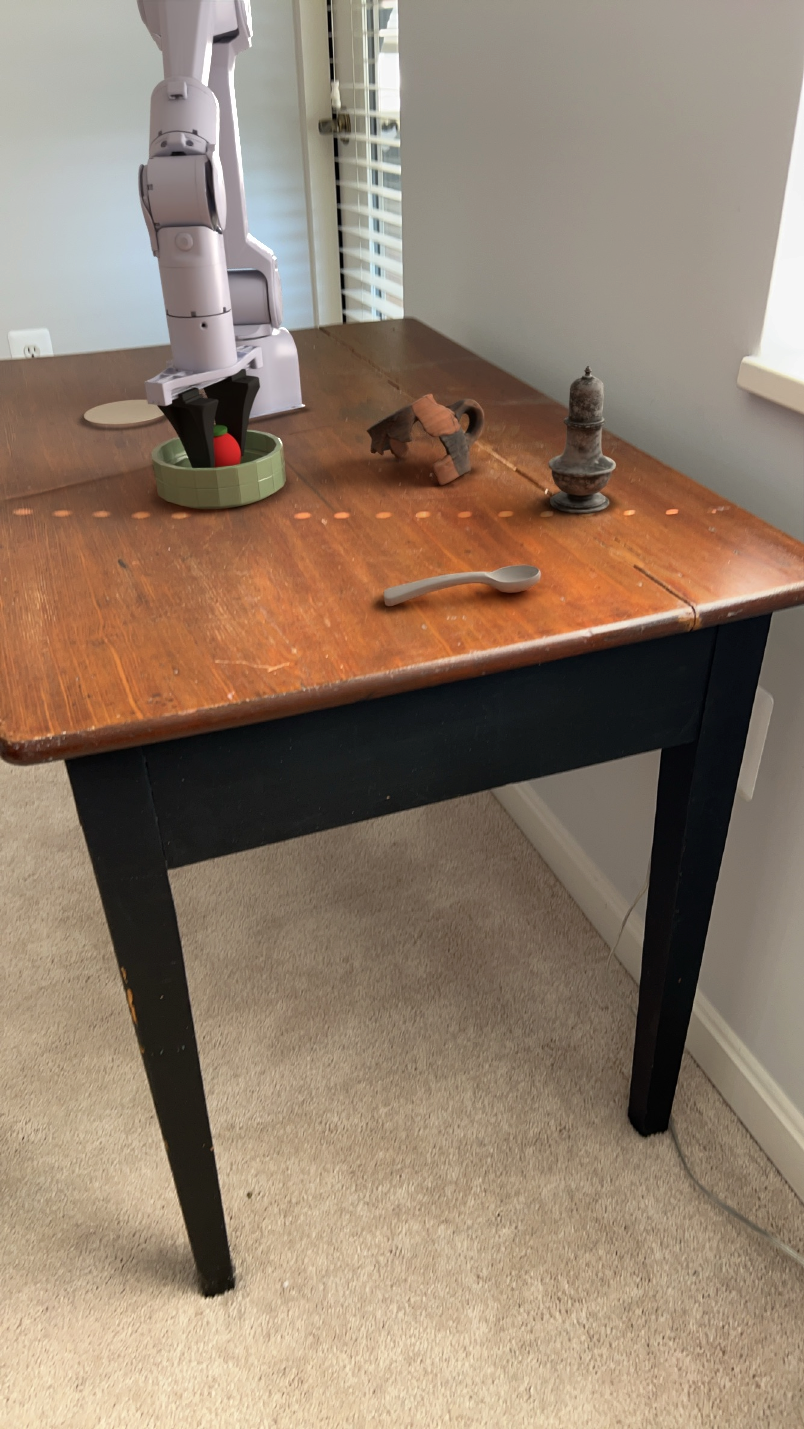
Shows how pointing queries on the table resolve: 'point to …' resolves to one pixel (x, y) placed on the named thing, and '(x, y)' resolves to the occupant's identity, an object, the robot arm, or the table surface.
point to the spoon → (467, 582)
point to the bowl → (220, 474)
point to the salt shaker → (582, 451)
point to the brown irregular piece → (432, 433)
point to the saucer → (123, 412)
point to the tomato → (225, 448)
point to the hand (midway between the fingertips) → (218, 462)
